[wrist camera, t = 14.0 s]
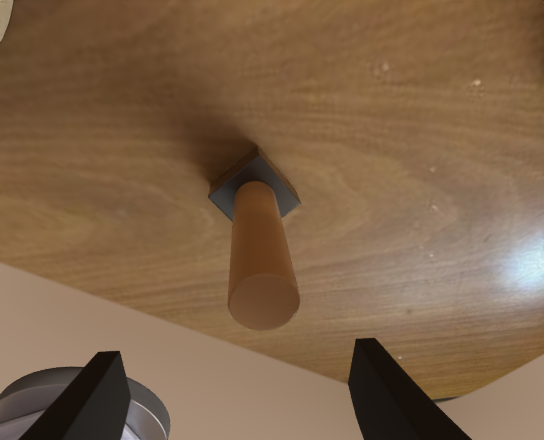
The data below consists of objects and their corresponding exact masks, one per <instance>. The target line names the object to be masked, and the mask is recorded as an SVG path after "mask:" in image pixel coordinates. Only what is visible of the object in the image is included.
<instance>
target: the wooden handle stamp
mask: <svg viewBox="0 0 544 440" xmlns="http://www.w3.org/2000/svg"><path fill="white" fill-rule="evenodd" d="M208 198H209V199H210V200H211V201H212V202H213V203H214V204H215V205H216V206H217V207H218V208H219V209H220V210H221V211H222V212H223V213H224V214H225V215H226V216H227V217H228V218H229V219H230V220H231V221H232V222H233V226H232V242H231V258H230V275H229V291H228V308H229V311H230V313H231V315H232V317H233V318H234V319H235V320H236V321H237V322H238V323H239V324H241V325H242V326H244V327H246V328H249V329H253V330H261V331H262V330H271V329H275V328H278V327H281V326H283V325H284V324H286V323H287V322H289V321H290V320H291V319H292V318H293V317H294V316H295V314H296V312H297V310H298V308H299V305H300V295H299V290H298V286H297V282H296V278H295V274H294V270H293V266H292V262H291V257H290V253H289V249H288V245H287V241H286V237H285V233H284V229H283V224H282V220H281V218H282V217H284V216H285V215H286V214H288V213H289V212H290V211H292V210H293V209H294V208H296V207H297V206H298V205H300V204H301V202H300V200H299V197H298V195H297V192H296V191H295V189H294V188H293V187H292V186H291V185H290V183H289V182H288V181H287V180H286V179H285V177H284V176H283V175H282V174H281V173H280V171H279V170H278V169H277V168H276V167H275V165H274V164H273V163H272V162H271V161H270V159H269V158H268V157H267V156H266V155H265V153H264V152H263V151H262V150H261V149H260V148H259V147H256V148H255V149H254V150H253V151H251V152H250V153H249V154H248V155H247V156H245V157H244V158H243V159H242V160H241V161H239V162H238V163H237V164H236V165H235V166H233V167H232V168H231V169H230V170H229V171H227V172H226V173H225V174H224V175H222V176H221V177H220V178H219V179H218V180H216V181H215V182H214V183H213V184H212V185H211V186H210V190H209V194H208Z"/></svg>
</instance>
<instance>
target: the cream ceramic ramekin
mask: <svg viewBox="0 0 544 440" xmlns="http://www.w3.org/2000/svg"><path fill="white" fill-rule="evenodd" d="M12 6H13V0H0V42H1V40H2V39H3V36H4V34H5V31H6V29H7V26H8V23H9V20H10V15H11V11H12Z"/></svg>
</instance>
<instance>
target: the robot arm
mask: <svg viewBox="0 0 544 440" xmlns="http://www.w3.org/2000/svg"><path fill="white" fill-rule="evenodd" d="M348 386H349V390H350V394H351V398H352V403H353V406H354V410H355V414H356V418H357V421H358V424H359V427H360V430H361V432H362V435H363V438H364V440H472V439H471V438H470V437H469V436H468V435H466V434H465V433H464V432H463V431H462V430H461V429H460V428H459V427H458V426H457V425H456V424H455V423H454V422H453V421H452V420H451V419H450V418H449V417H448V416H447V415H446V414H445V413H444V412H443V411H442V410H441V409H440V408H439V407H438V406H437V405H436V404H435V403H434V402H433V401H432V400H431V399H430V398H429V397H428V396H427V395H426V394H425V393H424V392H423V391H422V389H421V388H420V387H419V386H418V385H417V384H416V383H415V382H414V381H413V380H412V379H411V378H410V377H409V376H408V374H407V373H406V372H405V371H404V370H403V369H402V368H401V367H400V366H399V364H398V363H397V362H396V361H395V360H394V359H393V358H392V357H391V355H390V354H389V353H388V352H387V351H386V350H385V349H384V347H383V346H382V345H381V344H380V343H379V342H378V341H377V340H376V339H375V338H363V339H356V341H355V347H354V353H353V358H352V364H351V369H350V375H349V381H348ZM130 400H131V394H130V390H129V386H128V382H127V378H126V374H125V370H124V366H123V362H122V358H121V354H120V351H106V352H98V353H97V354H96V355H95V356H94V357H93V358H92V359H91V360H90V362H89V363H88V364H87V365H86V366H85V367H84V368H83V369H82V370H81V372H80V373H79V374H78V375H77V376H76V377H75V378H74V379H73V381H72V382H71V383H70V384H69V385H68V386H67V387H66V388H65V390H64V391H63V392H62V393H61V394H60V395H59V396H58V397H57V398H56V400H55V401H54V402H53V403H52V404H51V405H50V406H49V407H48V408H47V409H46V410H43V411H40V412H36V413H33V414H30V415H27V416H23V417H20V418H17V419H14V420H11V421H7V422H4V423H1V424H0V440H140V439H139V438H138V437H137V436H136V435H135V433H134V432H133V431H132V430H131V429H130V428H129V427H128V426H127V425H126V424H125V422H126V418H127V414H128V409H129V405H130Z"/></svg>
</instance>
